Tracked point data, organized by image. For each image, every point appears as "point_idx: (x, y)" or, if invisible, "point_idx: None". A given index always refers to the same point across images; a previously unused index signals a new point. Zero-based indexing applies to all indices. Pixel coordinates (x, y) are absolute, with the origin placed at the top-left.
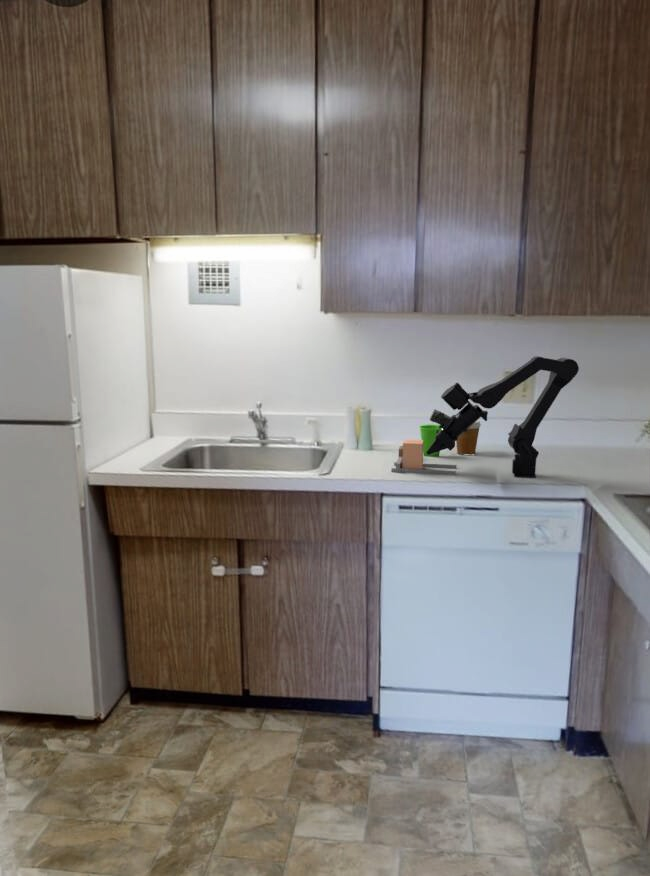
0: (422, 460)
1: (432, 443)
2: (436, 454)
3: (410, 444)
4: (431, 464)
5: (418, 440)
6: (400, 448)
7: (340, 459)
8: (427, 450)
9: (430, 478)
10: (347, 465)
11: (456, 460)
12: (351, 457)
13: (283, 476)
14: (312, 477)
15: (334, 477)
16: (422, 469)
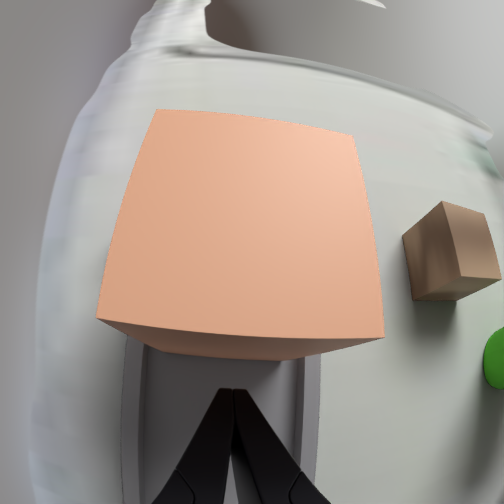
0: (239, 355)
1: (275, 473)
2: (499, 382)
3: (135, 176)
4: (302, 414)
5: (353, 269)
6: (449, 209)
7: (364, 85)
8: (237, 400)
9: (98, 395)
10: (300, 85)
11: (472, 463)
12: (399, 110)
13: (165, 19)
14: (149, 42)
15: (142, 66)
16: (142, 355)
